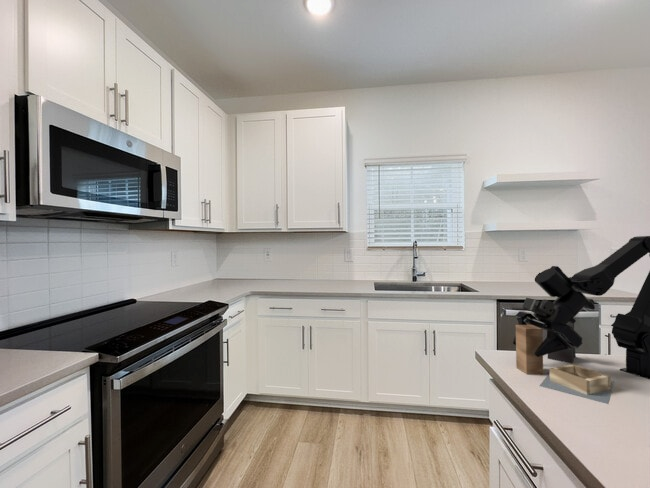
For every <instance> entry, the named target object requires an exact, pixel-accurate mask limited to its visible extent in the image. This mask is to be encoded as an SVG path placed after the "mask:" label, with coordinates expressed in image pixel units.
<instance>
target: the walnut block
mask: <svg viewBox="0 0 650 488" xmlns="http://www.w3.org/2000/svg"><path fill="white" fill-rule="evenodd" d="M515 336H516V346H515V354H516V355H515V358H516V361H515V362H516V363H515V364H516V365H515V366H516V369H517V370H519V371H520V372H521V373H523V374H525V375H544V360H543V359H544V355H543V356H540V357H537V356H536V355H535V354H534V353H535V351H536V350H537V349H538V347H539V346H540V345H541V344H542V342H543V341H544V340H543V329H541V328H539V327H536V326H533V325H519V324H515Z"/></svg>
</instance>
